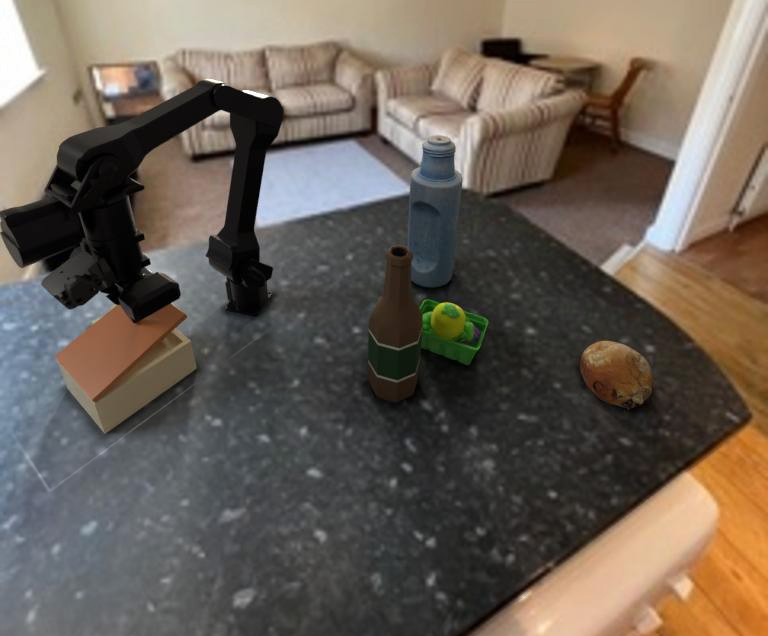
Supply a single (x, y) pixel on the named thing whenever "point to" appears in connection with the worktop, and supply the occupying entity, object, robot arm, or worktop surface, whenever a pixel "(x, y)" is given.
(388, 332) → the beer bottle
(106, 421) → the wooden box
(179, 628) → the worktop surface
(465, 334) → the fruit basket
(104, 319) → the box lid
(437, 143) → the bottle
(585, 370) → the brown oval lump
